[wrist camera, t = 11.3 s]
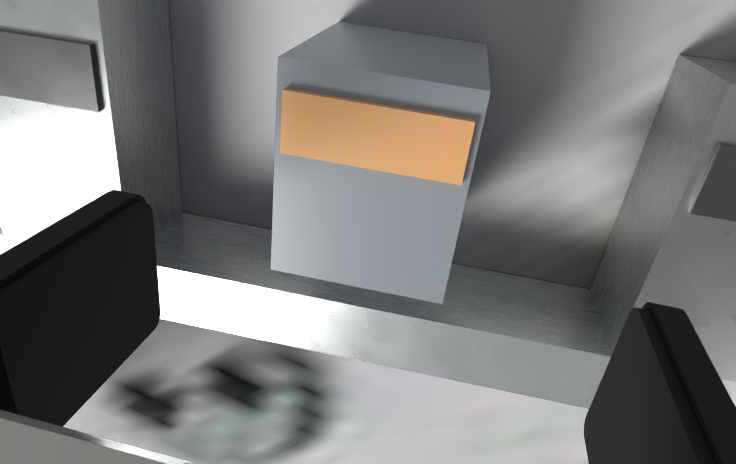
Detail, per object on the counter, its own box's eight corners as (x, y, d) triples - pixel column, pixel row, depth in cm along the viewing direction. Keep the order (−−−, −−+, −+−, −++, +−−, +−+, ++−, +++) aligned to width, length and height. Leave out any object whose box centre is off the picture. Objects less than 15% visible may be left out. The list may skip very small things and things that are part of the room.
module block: (486, 43, 18) (491, 93, 12) (451, 205, 21) (441, 308, 15) (339, 21, 18) (275, 58, 13) (325, 182, 21) (268, 272, 16)
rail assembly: (867, 81, 16) (978, 121, 13) (710, 363, 22) (756, 448, 18) (21, -40, 19) (-86, -36, 16) (71, 237, 25) (1, 288, 21)
